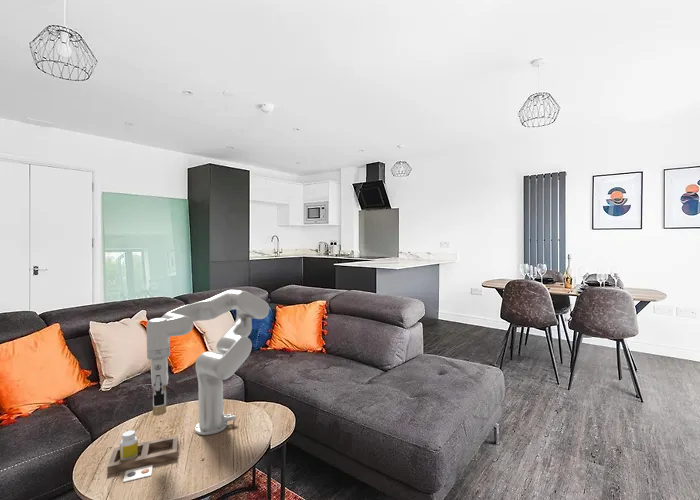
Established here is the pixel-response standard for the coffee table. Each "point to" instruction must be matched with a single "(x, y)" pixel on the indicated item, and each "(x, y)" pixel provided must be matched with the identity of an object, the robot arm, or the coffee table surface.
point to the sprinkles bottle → (160, 408)
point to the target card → (138, 473)
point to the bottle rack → (144, 455)
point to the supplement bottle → (128, 446)
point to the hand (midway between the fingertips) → (159, 401)
